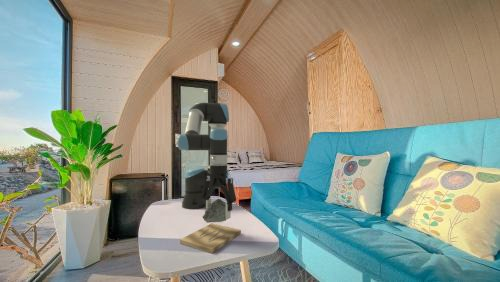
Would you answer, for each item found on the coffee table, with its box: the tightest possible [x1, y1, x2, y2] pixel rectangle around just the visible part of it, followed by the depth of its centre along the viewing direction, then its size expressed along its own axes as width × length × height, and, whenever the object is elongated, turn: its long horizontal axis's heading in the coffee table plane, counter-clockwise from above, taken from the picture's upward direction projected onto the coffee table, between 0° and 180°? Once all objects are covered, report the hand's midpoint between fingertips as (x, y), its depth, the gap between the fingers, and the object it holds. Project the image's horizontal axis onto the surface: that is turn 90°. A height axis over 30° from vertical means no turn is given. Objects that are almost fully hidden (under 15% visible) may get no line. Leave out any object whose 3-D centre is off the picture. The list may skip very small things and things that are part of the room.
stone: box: [201, 198, 227, 224], centre depth 94 cm, size 10×10×10 cm
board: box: [179, 222, 242, 254], centre depth 91 cm, size 20×16×2 cm
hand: (218, 216), depth 94 cm, fingers closed on stone, 10 cm apart
